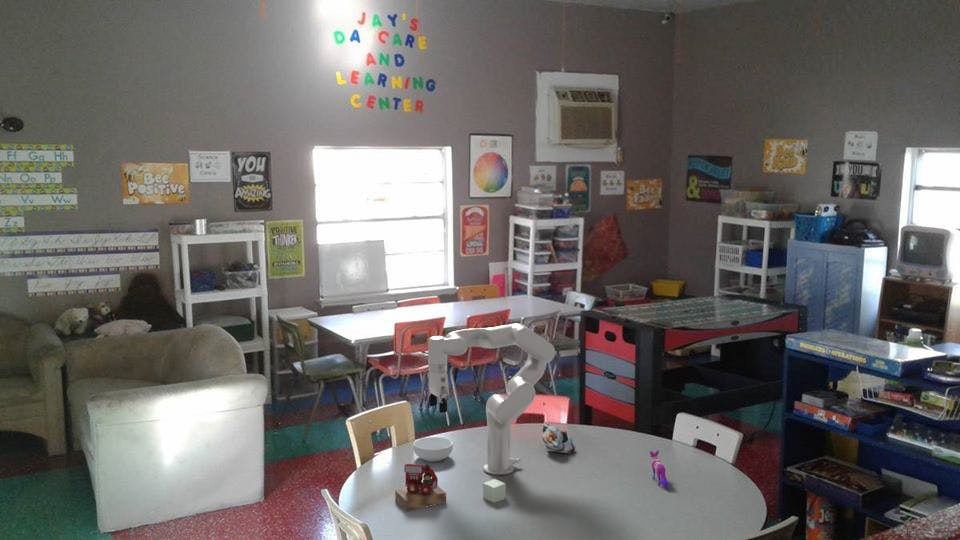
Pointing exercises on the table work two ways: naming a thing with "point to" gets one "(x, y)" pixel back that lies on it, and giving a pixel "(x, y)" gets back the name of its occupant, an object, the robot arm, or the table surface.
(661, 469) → the toy dog
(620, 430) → the table surface
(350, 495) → the table surface
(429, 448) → the cereal bowl
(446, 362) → the robot arm
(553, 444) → the lucky cat figurine
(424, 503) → the tan block
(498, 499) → the sage cube
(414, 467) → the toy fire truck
